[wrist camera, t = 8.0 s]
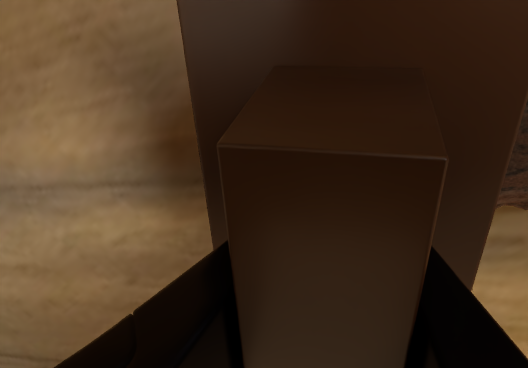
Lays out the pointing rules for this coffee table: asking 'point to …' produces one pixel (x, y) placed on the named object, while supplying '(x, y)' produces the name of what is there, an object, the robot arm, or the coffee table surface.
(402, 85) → the scrub brush
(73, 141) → the coffee table surface
